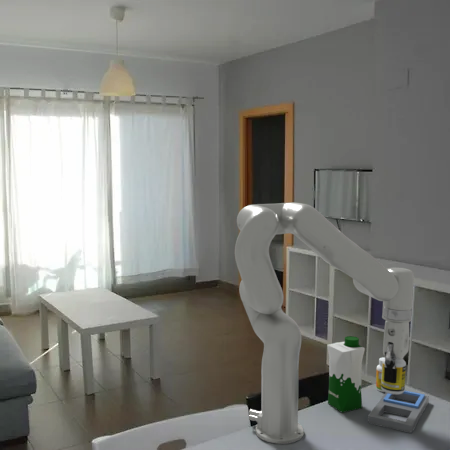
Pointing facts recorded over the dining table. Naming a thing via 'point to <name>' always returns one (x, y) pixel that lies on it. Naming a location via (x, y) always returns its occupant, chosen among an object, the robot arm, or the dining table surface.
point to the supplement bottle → (379, 375)
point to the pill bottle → (400, 381)
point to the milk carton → (345, 374)
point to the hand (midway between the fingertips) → (393, 377)
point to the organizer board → (399, 410)
